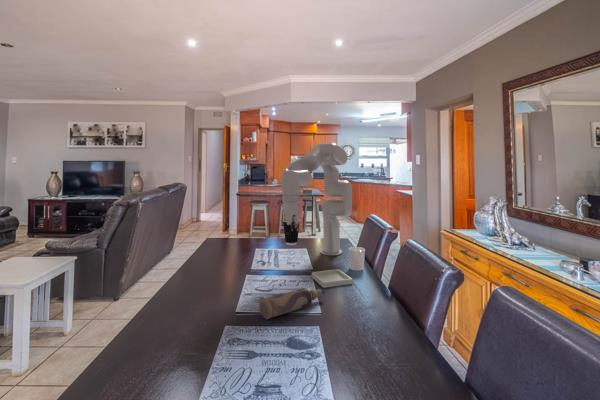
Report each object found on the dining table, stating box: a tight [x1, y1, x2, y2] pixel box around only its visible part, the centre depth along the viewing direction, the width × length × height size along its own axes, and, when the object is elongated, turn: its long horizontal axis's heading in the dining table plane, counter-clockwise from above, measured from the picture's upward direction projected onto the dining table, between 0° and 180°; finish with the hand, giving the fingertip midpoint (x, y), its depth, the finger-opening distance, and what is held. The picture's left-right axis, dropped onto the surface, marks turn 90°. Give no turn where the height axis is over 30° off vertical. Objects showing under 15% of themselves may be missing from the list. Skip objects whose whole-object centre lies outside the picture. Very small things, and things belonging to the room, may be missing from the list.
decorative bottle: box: [258, 287, 326, 320], centre depth 103 cm, size 26×8×7 cm, turn 124°
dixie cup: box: [282, 218, 301, 246], centre depth 131 cm, size 8×8×11 cm
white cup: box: [348, 246, 366, 272], centre depth 144 cm, size 8×8×10 cm
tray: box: [311, 268, 354, 289], centre depth 130 cm, size 14×14×2 cm
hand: (291, 237), depth 131 cm, fingers closed on dixie cup, 8 cm apart
